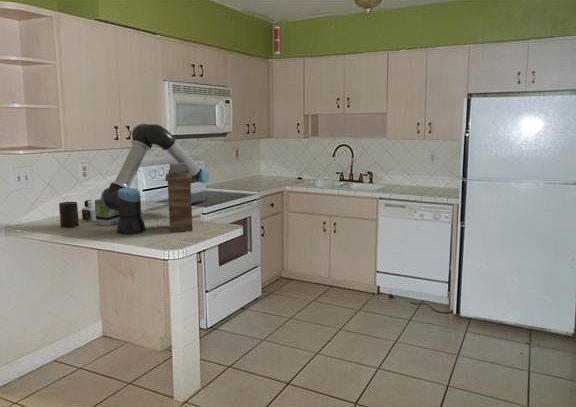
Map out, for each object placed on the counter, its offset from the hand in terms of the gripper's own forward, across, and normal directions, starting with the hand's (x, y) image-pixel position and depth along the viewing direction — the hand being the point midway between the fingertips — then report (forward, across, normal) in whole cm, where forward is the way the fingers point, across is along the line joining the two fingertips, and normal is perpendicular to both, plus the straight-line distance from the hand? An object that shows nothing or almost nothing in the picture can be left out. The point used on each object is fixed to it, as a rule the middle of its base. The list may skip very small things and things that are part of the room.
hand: (178, 166), depth 283 cm
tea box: (-30, +40, -23) cm, 55 cm away
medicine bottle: (-41, +53, -16) cm, 69 cm away
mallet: (+1, 0, -6) cm, 6 cm away
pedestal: (-9, 0, -34) cm, 36 cm away
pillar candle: (-28, +63, -24) cm, 72 cm away
